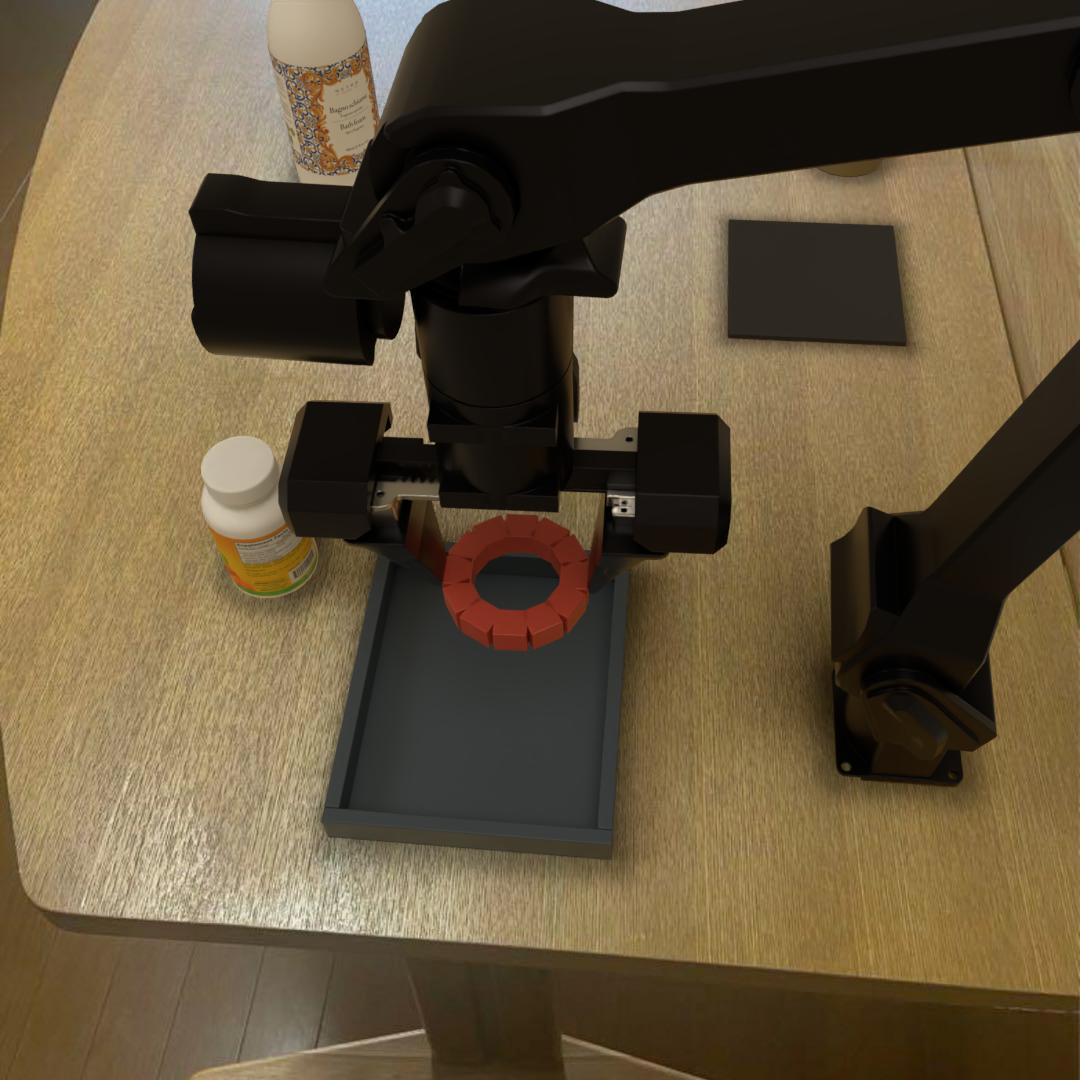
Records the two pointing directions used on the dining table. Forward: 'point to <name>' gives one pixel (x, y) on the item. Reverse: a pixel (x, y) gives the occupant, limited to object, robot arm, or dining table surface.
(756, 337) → the mat
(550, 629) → the ring
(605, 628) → the tray
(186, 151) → the dining table surface
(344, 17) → the bath foam
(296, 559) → the supplement bottle
